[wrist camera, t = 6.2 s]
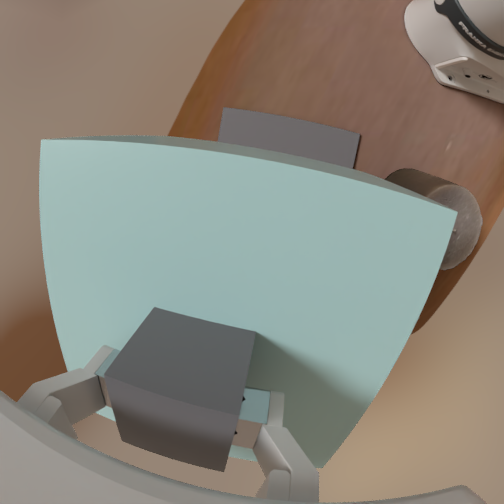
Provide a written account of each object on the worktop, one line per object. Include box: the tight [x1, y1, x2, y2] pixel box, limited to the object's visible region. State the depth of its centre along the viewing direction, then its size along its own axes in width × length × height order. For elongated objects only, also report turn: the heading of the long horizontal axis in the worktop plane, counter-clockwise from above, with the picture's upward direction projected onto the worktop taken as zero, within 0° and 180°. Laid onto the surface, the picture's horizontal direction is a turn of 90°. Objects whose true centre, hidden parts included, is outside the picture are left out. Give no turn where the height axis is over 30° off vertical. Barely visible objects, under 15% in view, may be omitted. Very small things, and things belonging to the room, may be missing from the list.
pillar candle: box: [385, 169, 483, 270], centre depth 31 cm, size 10×10×15 cm
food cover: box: [39, 136, 458, 472], centre depth 16 cm, size 16×16×18 cm
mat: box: [218, 107, 360, 169], centre depth 40 cm, size 19×19×1 cm
